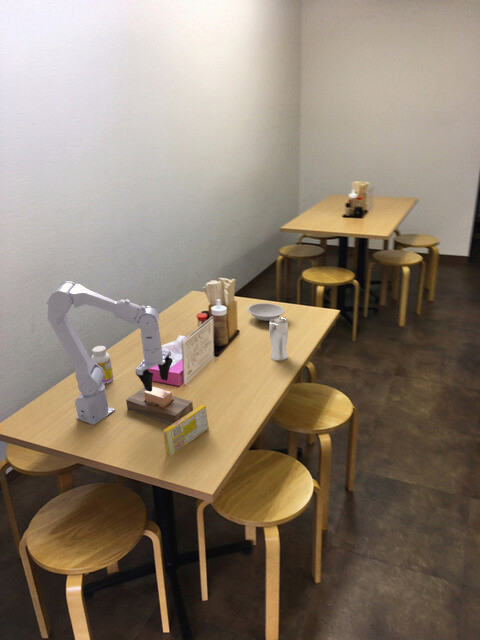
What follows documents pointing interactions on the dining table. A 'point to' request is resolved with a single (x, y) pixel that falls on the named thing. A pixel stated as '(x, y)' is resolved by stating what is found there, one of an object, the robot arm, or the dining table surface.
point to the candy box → (185, 430)
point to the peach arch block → (158, 397)
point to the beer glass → (278, 338)
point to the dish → (265, 311)
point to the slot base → (167, 414)
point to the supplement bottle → (103, 362)
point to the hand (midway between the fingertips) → (156, 385)
